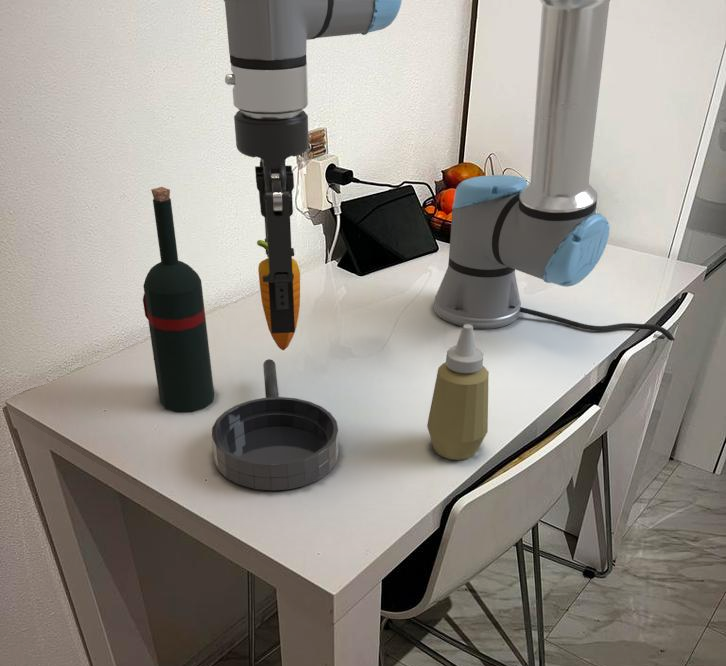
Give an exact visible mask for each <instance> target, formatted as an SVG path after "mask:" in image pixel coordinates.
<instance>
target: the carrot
mask: <svg viewBox="0 0 726 666" xmlns="http://www.w3.org/2000/svg"><path fill="white" fill-rule="evenodd" d="M256 245H257V246H258V247H261V248H263V249H264V250H265V251H266V250H267V251H268V244H267V242H265V240H262V239H259V240H256ZM300 271H301V270H300V268H299V265H298V262H297V261H296V259H294V258H292V273H293V274H294V278H293V298H294V321H295V331H296V330H297V327H298V319H299V316H300V315H299V314H300V306H301V272H300ZM268 274H269V260H268V257H267V258H265V259H264V260H261V261H260V262H259V263H258V281H259V289H260V298H261V305H262V309H263V313H264V317H265V321H266V325H267V328H268V331H269V333H270V335H271V338H272V340H273V341H274V343H275V344H276V346H277V347H278V348H279V350H281V351H285V350H286V349H288V348H289V346H290V343H291V342H292V340H293V338H294V336H295V332H292V333H272V331H271V316H270V300H269V283H268V282H263V276H267V275H268Z"/></svg>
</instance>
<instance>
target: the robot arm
mask: <svg viewBox="0 0 726 666" xmlns="http://www.w3.org/2000/svg"><path fill="white" fill-rule="evenodd" d="M539 1H540V3H541V11H540V12H541V13H540V29H539V43H538V58H537V59H538V61H537V74H536V88H535V89H536V90H535V91H536V92H535V104H534V120H533V135H532V148H531V150H532V152H531V164H530V178H529V180H530V181H529V183H528V181H527V179H525V178H524V177H522V176H518V175H512V174H511V175H510V174H491V175H488V174H487V175H479V176H474V177H470V178H466V179H464V180H462V181H461V182H460V183H458V185H457V186H456V188H455V190H454V198H453V203H452V206H451V209H452V210H451V224H450V237H449V238H450V239H449V250H448V263H447V264H448V265H447V268H446V270H445V273H444V275H443V278H442V280H441V283H440V285H439V287H438V290H437V292H436V295H435V297H434V307H433V309H434V312H435V313H436V315H437V316H438V317H439V318H441V319H442V320H444V321H446V322H448V323H450V324H452V325H456V326H459V327H463V326H464V325H466V324H469V325H472V326H473V329H484V330H485V329H487V330H489V329H497V328H502V327H506V326H509V325H511V324H512V323H514V322H517V320H518V319H519V317H520V313H522V314H526V315H529V316H530V315H531V316H535V317H539V318H542V319H546V320H550V321H553V322H557V323H561V324H564V325H567V326H570V327H574V328H578V329H582V330H586V331H594V332H608V331H609V332H610V331H615V330H620V329H634V330H635V329H636V330H637V329H638V330H649V331H650V330H651V331H656V332H658V333H661V334H662V335H664V336H665V337H666V339H668V341H672V342H673V341H675V340H676V339H675V338H674V336H673V335H672V333H671V332H670V331H669V330H667V329H666V328H665V327H663V326H661V325H657V324H648V323H631V322H626V323H625V322H624V323H623V322H622V323H614V324H609V325H592V324H587V323H586V324H585V323H582V322H578V321H574V320H572V319H568V318H564V317H562V316H561V317H560V316H557V315H553V314H549V313H545V312H542V311H539V310H534V309H530V308H527V307H523V306H522V302H521V298H520V291H519V286H518V282H517V276H516V271H518V272H521V273H524V274H527V275H529V276H531V277H534V278H537V279H540V280H542V281H543V282H544V283H547V284H554V285H557V286H561V287H567V288H568V287H572V286H575V285H577V284H579V283H581V282H582V281H583V280H584V279H586V278H587V277H588V276H589V275H590V273H592V271H593V270H594V269H595V267H596V266H597V264H598V263H599V262H600V260H601V258H602V256H603V254H604V252H605V249H606V248H607V247H606V246H607V244H608V241H609V237H610V223H609V221H608V219H607V217H605V216H604V215H603V214H601V213H600V212H599V213H597V204H598V192H597V191H596V189H595V188H594V187H593V186H592V185H591V184H590V175H591V166H592V157H593V148H594V141H595V130H596V124H597V123H596V122H597V113H598V105H599V97H600V96H599V95H600V88H601V78H602V71H603V62H604V53H605V44H606V35H607V28H608V27H607V26H608V17H609V9H610V2H611V0H539ZM223 2H224V9H225V19H226V27H227V28H226V32H227V42H228V53H229V54H228V55H229V63H230V71H231V73H229V74H226V75H225V77H224V83H225V84H226V85H228V86H233V87H232V101H233V106H234V107H235V108H236V109H237V110H238V111H236V112H235V114H234V116H233V121H234V132H235V133H234V135H235V145H236V149H237V150H238V152H239V153H240V154H242V155H244V156H245V157H246V156H247V157H249V158H259V159H260V160H259V166H256V165H255V166H254V171H255V182H256V183H255V184H256V189H257V191H258V194H259V195H258V197H259V198H258V199H259V206H260V209H259V210H260V215H261V216H262V217H263V218H264V233H265V238H264V241H265V242H267V244H268V251H267V250H266V249H265V255H266V256H267V258H268V260H269V274H268V275H267V276H263V282H268V283H269V300H270V316H271V331H272V333H292V332H294V333H296V330H295V321H294V298H293V278H294V274H293V273H292V259H293V257H295V249H294V247H292V230H291V229H292V228H291V216H292V215H293V213H294V205H293V190H294V189H295V177H294V171H293V165H286V160H287V159H289V158H290V157H293V158H294V157H298V156H300V155H302V154H305V152H307V150H308V149H309V146H310V145H309V143H310V141H309V139H310V138H309V115H308V114H307V112H306V111H305V109H306V108H307V106H308V105H309V87H308V86H309V85H308V83H309V82H308V63H307V41H308V40H315V39H320V38H331V37H341V36H342V37H343V36H350V35H359V34H360V35H362V36H366V35H368V34H370V33H373V32H377V31H381V30H384V29H387V28H388V27H389V26H390V25H391V24H392V23H393V22H394V21H395V20H396V18H397V17H398V14H399V12H400V9H401V6H402V0H223Z"/></svg>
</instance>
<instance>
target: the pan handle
mask: <svg viewBox="0 0 726 666" xmlns="http://www.w3.org/2000/svg"><path fill="white" fill-rule="evenodd" d="M262 364H263V365H262V366H263V379H264V381H263V382H264V393H265V398H269V397H280V396H279V386H278V376H277V366H276V365H277V364H276V362H275V361H274V360H273V359H270V358H269V359H266V360H264V362H263V363H262Z"/></svg>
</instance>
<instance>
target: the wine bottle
mask: <svg viewBox="0 0 726 666" xmlns="http://www.w3.org/2000/svg"><path fill="white" fill-rule="evenodd" d="M150 191H151V195H152V197H153V199H152V206H153V212H154V219H155V226H156V236H157V242H158V249H159V256H160V262H157V263H156V264H154V265H153V266H152V267H151V268H150V270H149V271H148V272H147V275H146V276H145V278H144V282H143V295H142V304H143V310H144V311H143V312H144V316H145V318H146V319H147V320H148V328H149V335H150V342H151V348H152V356H153V362H154V368H155V376H156V377H155V378H156V382H157V390H158V396H159V403H160V405H162V407H164V409H165V410H168V411H172V412H175V413H192V412H196V411H200V410H204V409H205V408H207V407H208V406H209V405H211V404H212V403H213V402H214V398H215V389H214V388H215V387H214V381H213V372H212V371H213V370H212V362H211V355H210V354H211V353H210V346H209V345H210V343H209V335H208V328H207V319H206V309H205V301H204V294H203V293H204V292H203V284H202V279H201V277H200V275H199V273H197V272H196V271H195V270H194V268H193V267H191V266H190V265H189V264H188V263H185V262H183V261H181V260H179V255H178V247H177V240H176V239H177V238H176V229H175V222H174V215H173V207H172V206H173V205H172V199H171V197H170V196H171V195H170V194H171V189H169V188H167V187H164V186H159V187H155V188H152V189H150Z"/></svg>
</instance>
